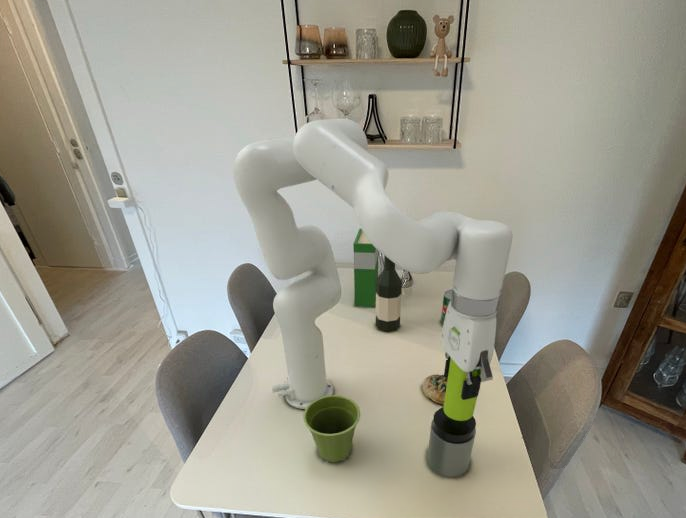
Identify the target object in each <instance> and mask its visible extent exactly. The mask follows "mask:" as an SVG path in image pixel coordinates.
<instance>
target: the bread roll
mask: <svg viewBox="0 0 686 518" xmlns="http://www.w3.org/2000/svg"><path fill="white" fill-rule="evenodd" d="M447 380H448V378H446V377H445V376H444V374H438V373H437V374H431V375H428V376H427V377H425V378H424V380H423V382H422V386H421V387H422V392H423V394H424V396H426V398H428V399H430V400H432V401H433V402H434V403H437V404H440V405H444V400H445V393H446V387H447Z"/></svg>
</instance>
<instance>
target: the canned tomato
mask: <svg viewBox="0 0 686 518" xmlns="http://www.w3.org/2000/svg"><path fill="white" fill-rule="evenodd" d="M452 290H453V289H447V290H446V291H444V292H443V299H442V306H441V308H442V310H441V316H440V324H441V326H443V324H444V319H445V315H446V311H447V308H448V305H449V302H450V300H451V297H452Z"/></svg>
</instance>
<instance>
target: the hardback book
mask: <svg viewBox="0 0 686 518" xmlns="http://www.w3.org/2000/svg"><path fill="white" fill-rule="evenodd" d="M379 252H380V251H379V250H377V249H376V248H375V247H374V246H373V245H372V244H371V243H370V241H369V240H368V238H367V237H366V235H365V233H364V231H363V229H362V228H359V229H358V231H357V234H356V236H355V239H354V241H353V284H354V285H353V286H354V307H359V308H376V280H377V279H378V277H379V257H380V256H379V254H380V253H379Z"/></svg>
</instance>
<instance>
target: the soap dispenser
mask: <svg viewBox="0 0 686 518" xmlns="http://www.w3.org/2000/svg"><path fill="white" fill-rule="evenodd" d="M451 330H453V331H454V332H455V333H456V334H458V335H460V332H459V331H458V330H457V329H456V328H455V327H453V328H451ZM473 376H477V370H473V371H472V377H473ZM464 381H466V372H465V371H463V370H462V369H461V368H460V367H459V366H458V365H457V364H456V363H455V362H454V361H453V359H452V358H451V359H450V366H449V373H448V380H447V387H446V393H445V400H444V404H443V406H442V407H443V410H444V412H445V414H446V415H447V416H448V417H449V418H451V419H454V420H457V421H465V420H468V419H470V418H471V417H472V416H473V417H474V413H475V408H476V403H477V399H478V396H477V397H475V398H470V399H466V400H463V399H462V398H461V394H462V388H463V382H464Z"/></svg>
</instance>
